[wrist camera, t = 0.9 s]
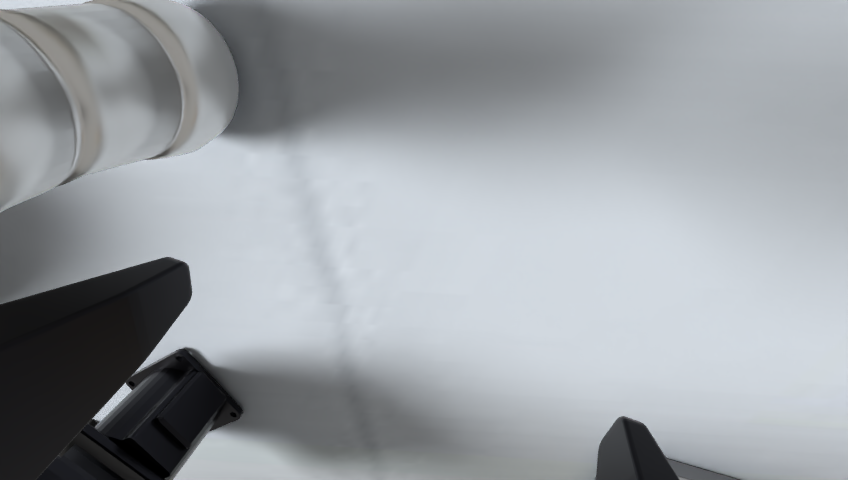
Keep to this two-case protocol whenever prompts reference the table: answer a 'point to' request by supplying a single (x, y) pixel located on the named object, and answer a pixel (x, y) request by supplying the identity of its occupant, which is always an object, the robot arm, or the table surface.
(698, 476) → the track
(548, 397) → the table surface
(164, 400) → the robot arm
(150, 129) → the plastic bottle
